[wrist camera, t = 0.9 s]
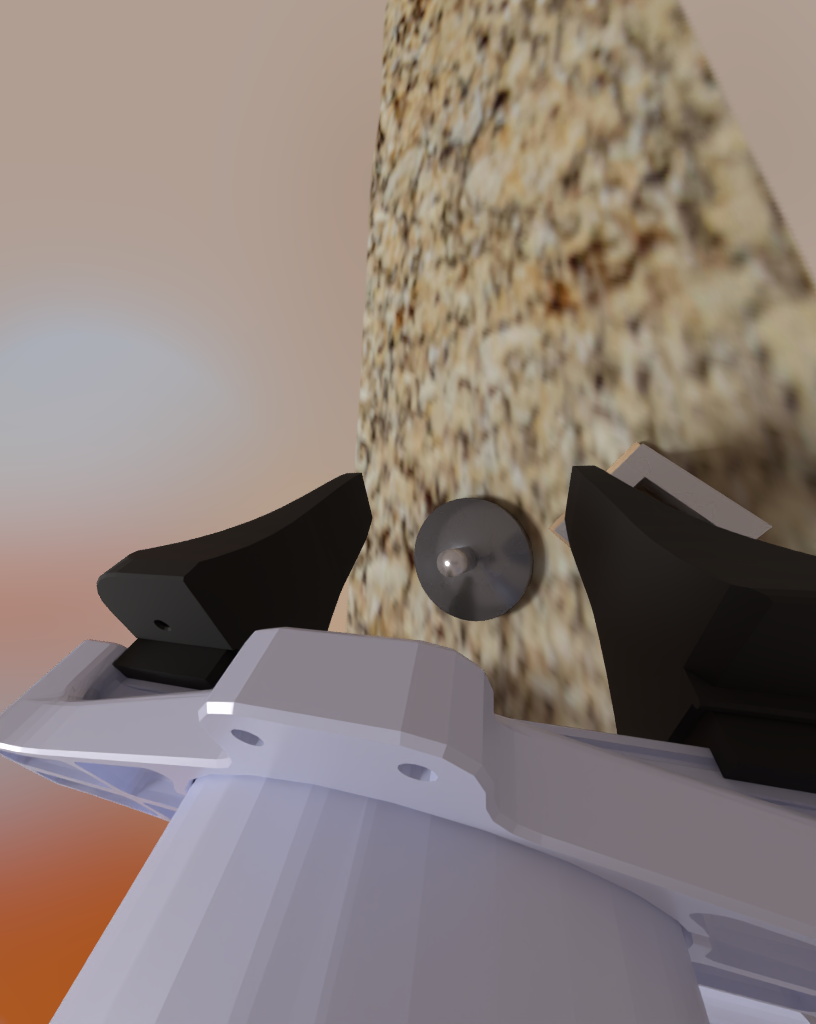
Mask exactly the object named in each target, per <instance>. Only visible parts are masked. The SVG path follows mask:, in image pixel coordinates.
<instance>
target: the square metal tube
mask: <svg viewBox="0 0 816 1024" xmlns="http://www.w3.org/2000/svg"><path fill="white" fill-rule="evenodd" d="M611 475H613V476H615V477H616V478H618V479H620V480H621V481H623V482H625V483H627V484H628V485H630V486H632V487H634V488H636V487H637V486H638V485H639V486H640V487H642V488H643V489H644V490H646V491H647V492H649V493H650V494H652V495H653V496H654V497H656V498H657V499H659V500H660V501H661V502H663V503H664V504H666V505H668V506H670V507H672V508H674V509H676V510H679V511H681V512H683V513H685V514H688V515H690V516H693V517H695V518H698V519H700V520H703V521H705V522H707V523H710V524H712V525H715V526H718V527H721V528H723V529H726V530H729V531H732V532H735V533H738V534H741V535H744V536H747V537H750V538H753V539H757V538H758V537H760V536H761V535H762V534H764V533H765V532H766V531H768V530H769V529H770V528H772V527H773V526H771V525H770V524H768V523H767V522H765V521H764V520H762V519H760V518H759V517H757V516H756V515H754V514H753V513H751V512H749V511H748V510H746V509H745V508H743V507H742V506H740V505H739V504H737V503H735V502H734V501H732V500H731V499H729V498H728V497H726V496H724V495H723V494H721V493H720V492H718V491H717V490H715V489H714V488H712V487H710V486H709V485H707V484H706V483H704V482H703V481H701V480H699V479H698V478H696V477H695V476H693V475H692V474H690V473H689V472H687V471H685V470H684V469H682V468H681V467H679V466H678V465H676V464H674V463H673V462H671V461H670V460H668V459H667V458H665V457H664V456H662V455H660V454H659V453H657V452H656V451H654V450H653V449H651V448H649V447H648V446H646V445H645V444H643V443H642V444H641V445H640V446H639V447H638V448H637V449H636V450H635V451H634V452H633V453H632V454H631V455H630V456H629V457H628V458H627V459H626V460H625V461H624V462H623V463H622V464H621V465H620V466H619V467H618V468H617V469H616V470H615V471H614V472H613V473H612V474H611ZM555 531H556V532H557V533H558V534H559V535H560V536H561V537H563V538H564V539H565V540H566V541H567V542H568V543H569V541H568V536H567V531H566V525H565V520H564V521H563V522H562V523H561V524H560V525H559V526H558V527H557V528H556V529H555Z"/></svg>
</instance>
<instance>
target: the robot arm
mask: <svg viewBox="0 0 816 1024" xmlns="http://www.w3.org/2000/svg"><path fill="white" fill-rule="evenodd" d="M371 521H372V514H371V510H370V505H369V501H368V497H367V493H366V489H365V485H364V481H363V476H362V473H346V474H343V475H341V476H339V477H337V478H335V479H333V480H331V481H329V482H327V483H326V484H324V485H322V486H320V487H319V488H317V489H315V490H313V491H312V492H310V493H308V494H306V495H304V496H303V497H301V498H299V499H297V500H295V501H293V502H291V503H289V504H287V505H286V506H283V507H282V508H279V509H277V510H275V511H273V512H271V513H269V514H266V515H264V516H262V517H259V518H257V519H254V520H252V521H249V522H246V523H244V524H241V525H238V526H235V527H232V528H229V529H226V530H223V531H220V532H217V533H214V534H210V535H207V536H203V537H199V538H195V539H191V540H188V541H183V542H179V543H174V544H170V545H165V546H160V547H156V548H150V549H145V550H139V551H136V552H134V553H132V554H129V555H128V556H127V557H125V558H124V559H123V560H121V561H120V562H119V563H117V564H116V565H115V566H113V567H112V568H111V569H109V570H108V571H106V572H105V573H104V574H102V575H101V576H100V577H99V579H98V581H97V590H98V594H99V596H100V598H101V600H102V601H103V603H104V604H105V605H106V606H107V607H108V608H109V610H110V611H111V612H112V613H113V614H114V615H115V616H116V617H117V618H118V619H119V620H120V621H121V622H122V623H123V624H124V625H125V626H126V627H127V628H128V630H129V631H130V632H131V633H132V634H133V635H134V636H135V637H136V638H138V639H137V640H136V641H135V642H134V643H133V644H132V645H131V646H130V647H129V648H126V647H124V646H122V645H120V644H117V643H112V642H105V641H97V640H85V641H83V642H82V643H81V644H80V645H79V646H78V647H77V648H76V649H74V650H73V651H72V652H71V653H70V654H69V655H67V656H66V657H65V658H64V659H63V660H62V661H61V662H59V663H58V664H57V665H56V666H55V667H54V668H52V669H51V670H50V671H49V672H48V673H47V674H46V675H45V676H44V677H42V678H41V679H40V680H39V681H38V682H36V683H35V684H34V685H33V686H32V687H31V688H30V689H28V690H27V691H26V692H25V693H24V694H23V695H22V696H20V697H19V698H18V699H17V700H16V701H15V702H13V703H12V704H11V705H10V706H9V707H8V708H7V709H6V710H4V711H3V712H2V713H1V714H0V755H1V756H3V757H5V758H7V759H9V760H11V761H13V762H15V763H17V764H19V765H21V766H23V767H25V768H27V769H28V770H30V771H33V772H34V773H36V774H38V775H40V776H42V777H44V778H46V779H48V780H50V781H52V782H54V783H56V784H59V785H62V786H65V787H69V788H72V789H75V790H78V791H81V792H85V793H88V794H91V795H94V796H97V797H100V798H103V799H106V800H109V801H112V802H115V803H118V804H121V805H124V806H127V807H130V808H132V809H135V810H138V811H141V812H144V813H147V814H149V815H152V816H155V817H158V818H161V819H163V820H167V821H169V822H170V823H169V824H168V826H167V828H166V829H165V831H164V833H163V834H162V836H161V838H160V839H159V841H158V843H157V844H156V846H155V848H154V849H153V851H152V853H151V854H150V856H149V858H148V859H147V861H146V863H145V864H144V866H143V868H142V869H141V871H140V873H139V874H138V876H137V878H136V879H135V881H134V883H133V884H132V886H131V888H130V889H129V891H128V893H127V895H126V896H125V898H124V899H123V901H122V903H121V904H120V906H119V908H118V909H117V911H116V913H115V914H114V916H113V918H112V919H111V921H110V923H109V924H108V926H107V928H106V929H105V931H104V933H103V934H102V936H101V938H100V939H99V941H98V943H97V944H96V946H95V948H94V950H93V951H92V953H91V955H90V956H89V958H88V960H87V961H86V963H85V965H84V966H83V968H82V969H81V971H80V973H79V974H78V976H77V978H76V979H75V981H74V983H73V985H72V986H71V988H70V990H69V991H68V993H67V995H66V996H65V998H64V1000H63V1001H62V1003H61V1005H60V1006H59V1008H58V1010H57V1011H56V1013H55V1015H54V1017H53V1018H52V1020H51V1021H50V1023H49V1024H816V556H813V555H810V554H806V553H802V552H798V551H794V550H790V549H787V548H783V547H780V546H776V545H773V544H769V543H766V542H763V541H760V540H757V539H753V538H750V537H747V536H744V535H741V534H738V533H735V532H732V531H729V530H726V529H723V528H721V527H718V526H715V525H712V524H710V523H707V522H705V521H703V520H700V519H698V518H695V517H693V516H690V515H688V514H685V513H683V512H681V511H679V510H676V509H674V508H672V507H670V506H668V505H666V504H664V503H662V502H660V501H658V500H656V499H654V498H652V497H650V496H648V495H646V494H644V493H643V492H641V491H639V490H637V489H635V488H634V487H632V486H630V485H628V484H627V483H625V482H623V481H621V480H620V479H618V478H616V477H615V476H613V475H611V474H609V473H608V472H606V471H604V470H602V469H600V468H598V467H596V466H573V467H572V473H571V480H570V486H569V493H568V499H567V506H566V512H565V525H566V531H567V536H568V541H569V545H570V548H571V551H572V554H573V556H574V559H575V562H576V565H577V567H578V570H579V573H580V576H581V578H582V581H583V584H584V587H585V589H586V592H587V595H588V598H589V601H590V604H591V607H592V610H593V614H594V618H595V622H596V627H597V631H598V635H599V640H600V644H601V649H602V654H603V659H604V663H605V668H606V673H607V678H608V684H609V689H610V694H611V700H612V705H613V710H614V716H615V722H616V728H617V734H611V733H604V732H598V731H591V730H585V729H578V728H571V727H565V726H558V725H551V724H545V723H538V722H532V721H525V720H518V719H512V718H507V717H504V716H501V715H498V714H495V713H494V691H493V689H492V687H491V685H490V682H489V680H488V678H487V676H486V674H485V672H484V670H483V669H481V668H480V667H479V666H478V665H477V664H475V663H474V662H472V661H471V660H469V659H468V658H466V657H465V656H463V655H461V654H460V653H458V652H457V651H455V650H454V649H451V648H447V647H443V646H440V645H436V644H432V643H428V642H424V641H420V640H410V639H400V638H390V637H380V636H370V635H361V634H351V633H341V632H331V631H328V628H329V624H330V621H331V618H332V615H333V612H334V610H335V606H336V604H337V601H338V598H339V595H340V593H341V591H342V588H343V586H344V583H345V582H346V580H347V578H348V576H349V574H350V572H351V570H352V568H353V565H354V563H355V561H356V559H357V557H358V555H359V553H360V551H361V549H362V547H363V545H364V543H365V540H366V538H367V535H368V532H369V529H370V525H371Z"/></svg>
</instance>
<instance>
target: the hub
mask: <svg viewBox="0 0 816 1024" xmlns="http://www.w3.org/2000/svg"><path fill="white" fill-rule="evenodd" d="M414 558H415V567H416V572H417V575H418V578H419V581H420V583H421V585H422V587H423V589H424V591H425V592H426V594H427V595H428V596H429V598H430V599H431V600H432V601H433V602H434V603H435V604H436V605H437V606H438V607H439V608H441V609H442V610H443V611H445V612H446V613H448V614H450V615H452V616H454V617H457V618H460V619H463V620H468V621H485V620H489V619H493V618H495V617H498V616H500V615H502V614H504V613H505V612H507V611H508V610H509V609H510V608H512V607H513V606H514V605H515V604H516V603H517V602H518V601H519V600H520V599H521V598H522V596H523V595H524V593H525V592H526V590H527V588H528V586H529V583H530V580H531V577H532V572H533V552H532V548H531V544H530V541H529V538H528V536H527V534H526V532H525V530H524V528H523V527H522V525H521V524H520V523H519V521H518V520H517V519H516V518H515V517H514V516H513V515H512V514H511V513H510V512H508V511H507V510H506V509H504V508H503V507H501V506H499V505H497V504H495V503H493V502H490V501H486V500H481V499H474V498H462V499H456V500H453V501H450V502H447V503H445V504H443V505H441V506H440V507H438V508H437V509H436V510H434V511H433V512H432V513H431V514H430V515H429V516H428V517H427V519H426V520H425V522H424V523H423V525H422V527H421V528H420V531H419V533H418V536H417V540H416V544H415V555H414Z"/></svg>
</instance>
